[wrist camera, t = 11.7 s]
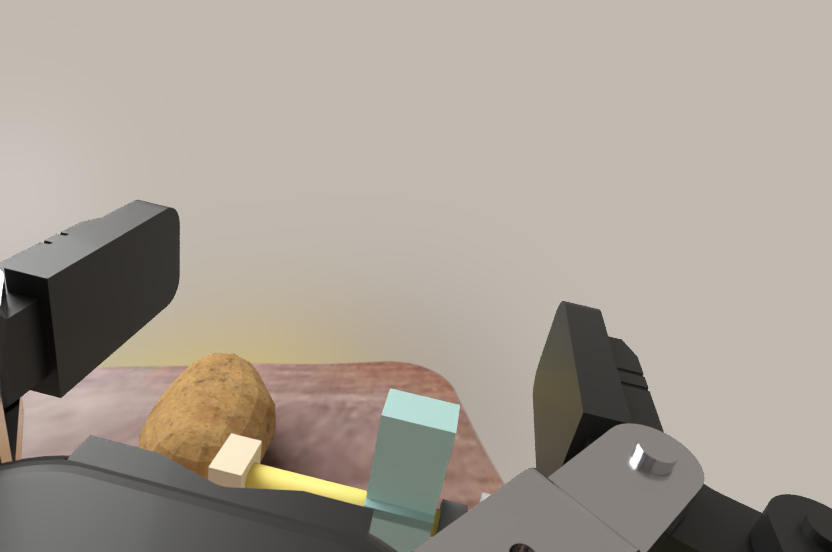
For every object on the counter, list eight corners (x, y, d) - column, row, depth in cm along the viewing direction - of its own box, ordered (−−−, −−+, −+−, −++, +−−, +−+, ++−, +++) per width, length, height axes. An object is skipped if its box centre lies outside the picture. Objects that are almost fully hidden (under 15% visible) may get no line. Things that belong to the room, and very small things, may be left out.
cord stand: (194, 607, 37) (195, 486, 32) (235, 531, 42) (241, 418, 38) (473, 683, 35) (515, 568, 31) (478, 595, 41) (514, 486, 36)
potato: (279, 410, 55) (285, 338, 51) (263, 537, 42) (271, 454, 39) (169, 404, 53) (168, 330, 49) (119, 535, 40) (113, 448, 37)
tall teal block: (355, 552, 34) (378, 422, 30) (368, 505, 37) (392, 382, 33) (421, 569, 34) (454, 440, 30) (429, 520, 37) (460, 398, 33)
